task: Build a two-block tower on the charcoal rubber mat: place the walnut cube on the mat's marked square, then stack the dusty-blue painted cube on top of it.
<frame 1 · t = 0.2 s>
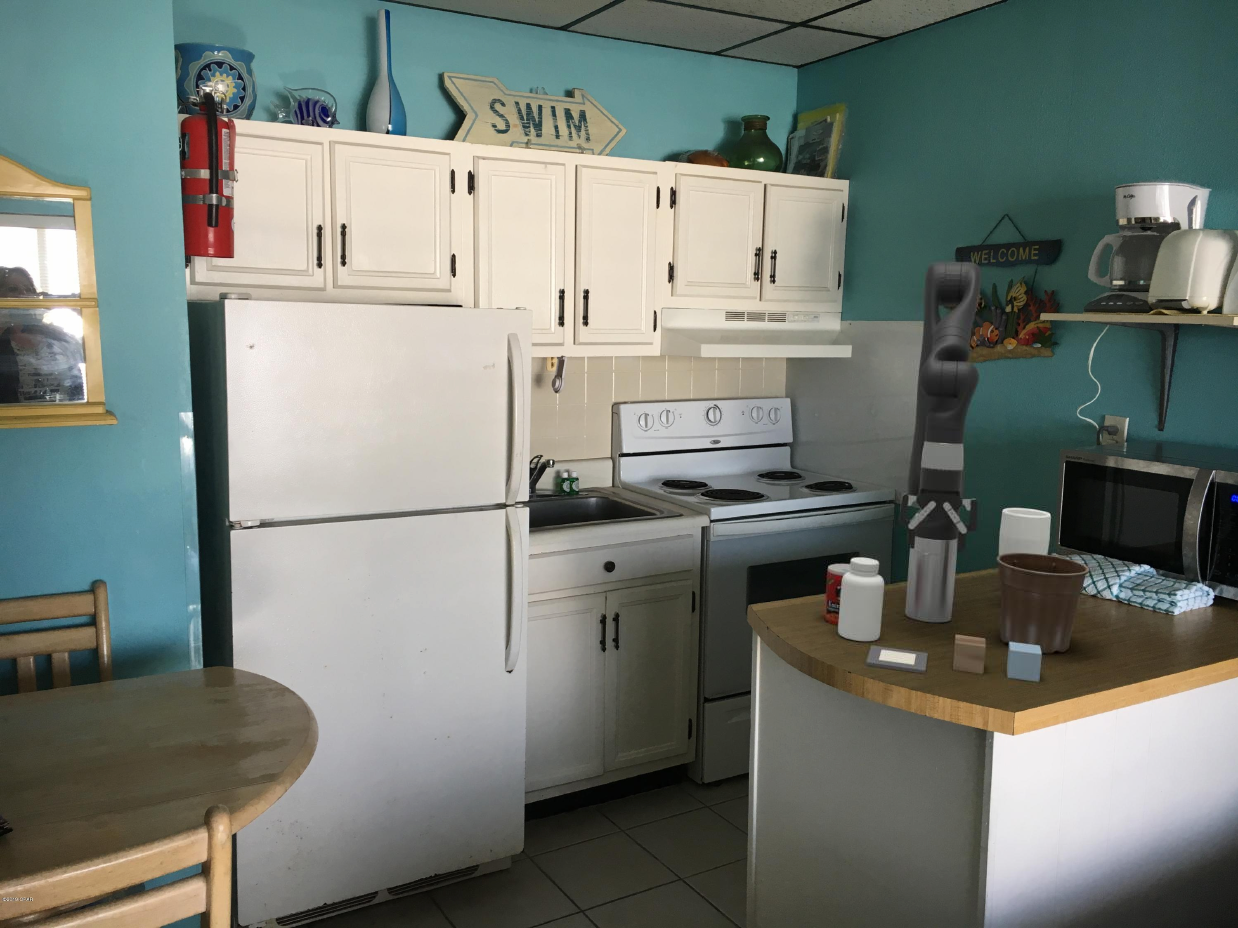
hand: (935, 549, 187), 17 cm above the table, tool pointing down, fingers open, 8 cm apart
cup: (1017, 610, 212), on the table
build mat: (897, 660, 175), on the table
walnut block: (967, 667, 173), on the table
plant pot: (1034, 645, 188), on the table
blue block: (1022, 675, 170), on the table
pill bottle: (858, 636, 189), on the table
canned food: (843, 621, 199), on the table
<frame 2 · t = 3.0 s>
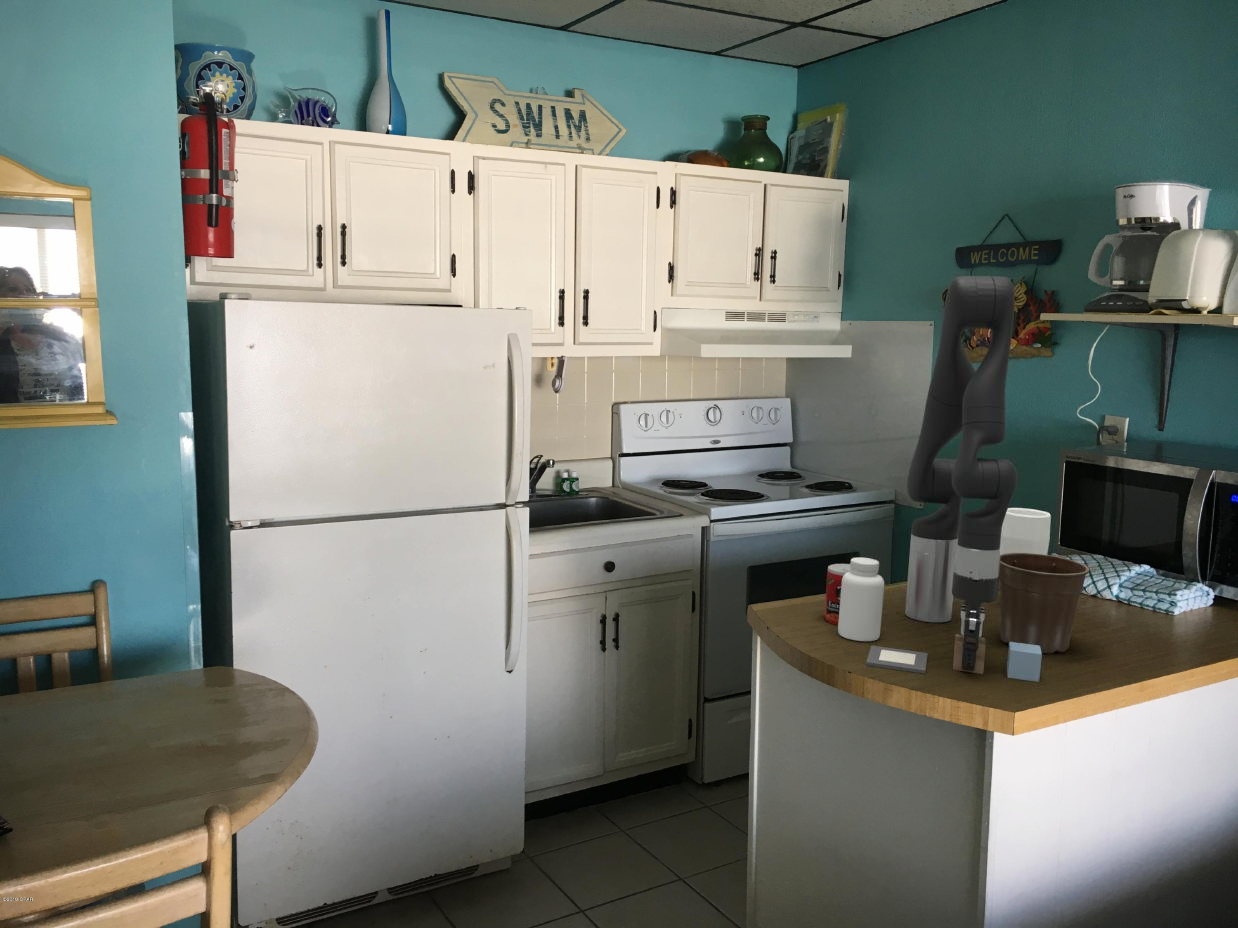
hand: (968, 664, 173), 0 cm above the table, tool pointing down, fingers closed on walnut block, 5 cm apart
walnut block: (967, 667, 173), on the table, touching gripper
everything else where it was.
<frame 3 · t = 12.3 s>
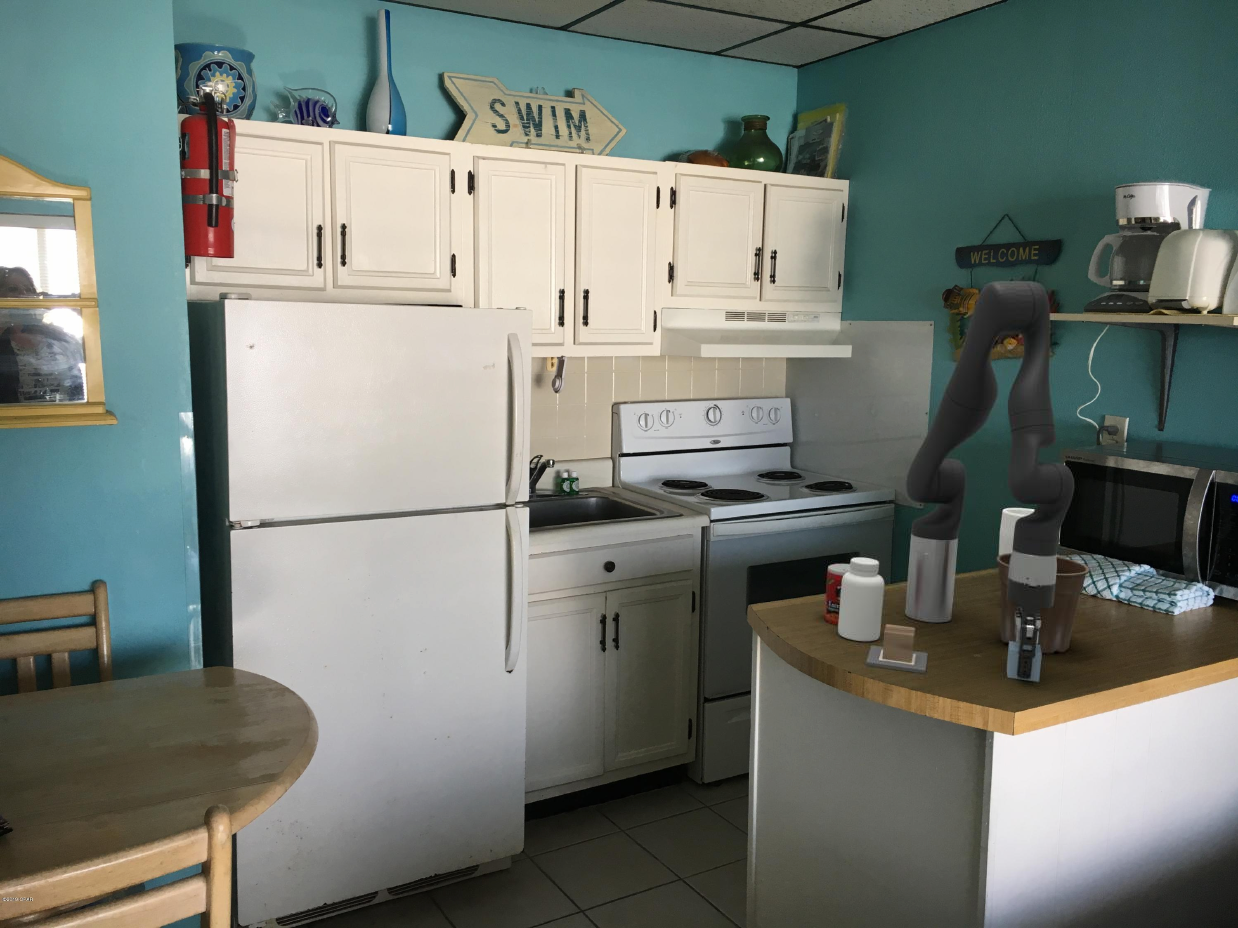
hand: (1022, 672, 170), 0 cm above the table, tool pointing down, fingers closed on blue block, 5 cm apart
walnut block: (897, 656, 175), point 1 cm above the table, touching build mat
blue block: (1022, 674, 170), on the table, touching gripper
everything else where it was.
when the fingers open (7 cm above the table, at t = 17.5 s): blue block stays where it is, resting on walnut block.
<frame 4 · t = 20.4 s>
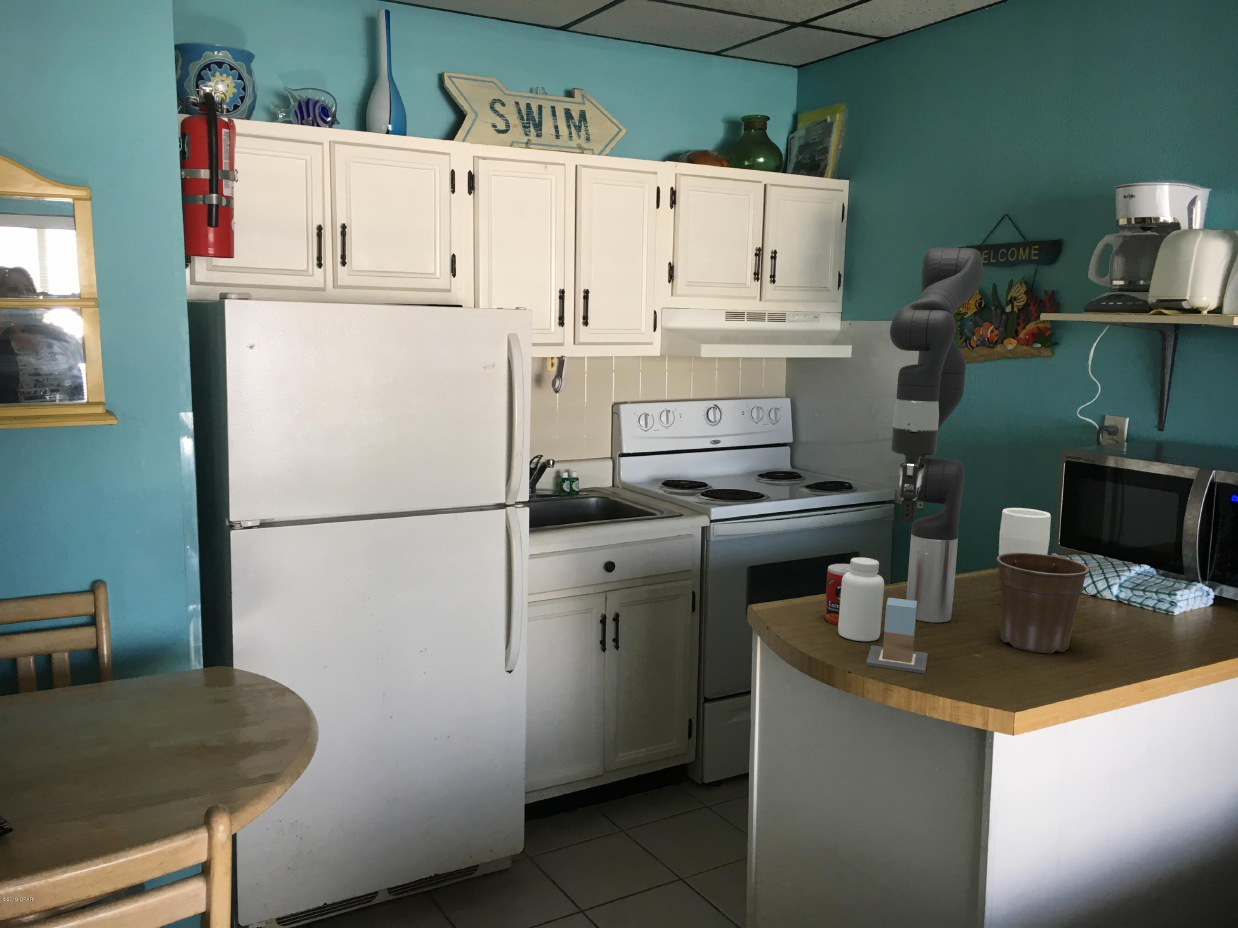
hand: (908, 517, 171), 26 cm above the table, tool pointing down, fingers open, 8 cm apart
walnut block: (897, 656, 175), point 1 cm above the table, touching blue block, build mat
blue block: (899, 629, 174), point 6 cm above the table, touching walnut block
everything else where it was.
at the end: blue block 0.0 cm off-centre on the walnut block, point 5.0 cm above the walnut block's base; walnut block inside the target area on the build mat (0.1 cm from its centre), point 0.7 cm above the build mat's base; blue block tilted 0° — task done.
